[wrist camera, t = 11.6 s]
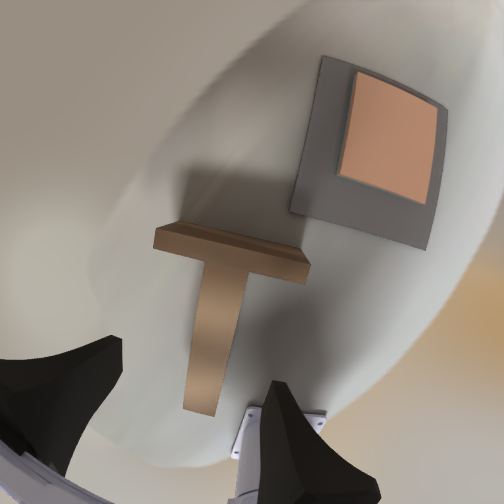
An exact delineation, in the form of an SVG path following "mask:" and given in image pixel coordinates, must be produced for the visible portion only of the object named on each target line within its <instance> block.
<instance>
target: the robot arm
mask: <svg viewBox="0 0 504 504" xmlns="http://www.w3.org/2000/svg"><path fill="white" fill-rule="evenodd" d="M122 372H123V363H122V339H121V338H118V337H116V336H113V335H110V336H107V337H104V338H102V339H100V340H97V341H95V342H92V343H90V344H87V345H85V346H82V347H79V348H77V349H74V350H70V351H68V352H64V353H61V354H58V355H54V356H49V357H44V358H36V359H27V360H4V359H0V488H2V489H3V490H4V491H5V492H6V493H7V494H8V495H9V496H11V497H12V498H13V499H14V500H15V501H17V502H18V503H19V504H114V503H112V502H110V501H107V500H105V499H103V498H101V497H99V496H97V495H95V494H93V493H91V492H89V491H87V490H85V489H83V488H81V487H80V486H78V485H76V484H74V483H73V482H71V481H69V480H67V479H66V478H65V474H66V471H67V468H68V465H69V463H70V460H71V458H72V455H73V452H74V450H75V448H76V446H77V444H78V442H79V439H80V437H81V435H82V433H83V431H84V430H85V428H86V426H87V424H88V422H89V420H90V419H91V417H92V416H93V414H94V413H95V412H96V410H97V409H98V408H99V406H100V405H101V404H102V402H103V401H104V400H105V399H106V397H107V396H108V395H109V393H110V392H111V390H112V389H113V388H114V386H115V385H116V383H117V381H118V379H119V377H120V375H121V373H122ZM326 421H327V418H326V416H325V415H315V414H304V413H302V411H301V409H300V408H299V406H298V404H297V402H296V401H295V399H294V397H293V395H292V393H291V391H290V389H289V387H288V385H287V384H286V382H280V381H274V380H273V381H272V383H271V386H270V389H269V391H268V394H267V397H266V399H265V402H264V404H263V407H262V408H260V407H254V406H250V407H248V408H247V409H246V412H245V415H244V418H243V421H242V424H241V427H240V430H239V432H238V435H237V438H236V441H235V444H234V446H233V449H232V452H231V458H234V459H239V464H238V473H237V482H236V490H235V498H233V499H228V502H227V504H377V503H378V502H379V501H380V499H381V494H380V490H379V487H378V484H377V481H376V479H375V478H373V477H371V476H369V475H367V474H366V473H364V472H362V471H360V470H359V469H357V468H356V467H354V466H353V465H351V464H350V463H348V462H347V461H346V460H344V459H343V458H342V457H341V456H339V455H338V454H337V453H336V452H335V451H334V450H333V449H331V448H330V447H329V446H328V445H327V444H326V443H325V442H324V440H323V439H322V438H321V437H320V436H319V435H318V434H319V432H320V431H321V429H322V427H323V426H324V424H325V422H326ZM319 422H320V423H319Z"/></svg>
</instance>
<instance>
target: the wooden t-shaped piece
mask: <svg viewBox="0 0 504 504" xmlns="http://www.w3.org/2000/svg"><path fill="white" fill-rule="evenodd" d="M153 248H154V249H158V250H162V251H166V252H170V253H174V254H177V255H182V256H186V257H190V258H194V259H198V260H202V261H205V267H204V272H203V277H202V283H201V288H200V294H199V300H198V306H197V312H196V318H195V324H194V330H193V337H192V343H191V350H190V357H189V364H188V371H187V379H186V386H185V394H184V402H183V409H185V410H189V411H193V412H196V413H200V414H204V415H208V416H212V417H215V413H216V408H217V404H218V400H219V396H220V392H221V387H222V383H223V379H224V375H225V371H226V366H227V362H228V358H229V354H230V350H231V345H232V341H233V337H234V333H235V329H236V324H237V320H238V316H239V312H240V307H241V303H242V299H243V295H244V291H245V286H246V282H247V278H248V274H249V272H252V273H256V274H261V275H265V276H269V277H274V278H278V279H282V280H287V281H291V282H296V283H300V284H305V283H306V280H307V276H308V273H309V269H310V266H311V264H310V262H309V261H308V259H307V258H306V256H305V255H304V253H303V252H302V250H301V249H298V248H294V247H290V246H286V245H282V244H277V243H273V242H269V241H265V240H260V239H256V238H252V237H248V236H243V235H239V234H235V233H230V232H226V231H222V230H217V229H213V228H208V227H204V226H200V225H195V224H191V223H186V222H182V221H177V222H174V223H171V224H168V225H165V226H162V227H158V228H156V231H155V238H154V245H153Z"/></svg>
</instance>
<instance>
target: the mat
mask: <svg viewBox="0 0 504 504" xmlns="http://www.w3.org/2000/svg"><path fill="white" fill-rule="evenodd" d="M357 72H360V73H363V74H365V75H368V76H370V77H373V78H376V79H378V80H380V81H383V82H385V83H388V84H390V85H392V86H394V87H397V88H399V89H401V90H403V91H405V92H407V93H409V94H411V95H413V96H415V97H417V98H419V99H421V100H423V101H425V102H427V103H429V104H431V105H432V106H434V107H436V108H437V123H436V136H435V145H434V154H433V161H432V168H431V175H430V181H429V187H428V192H427V197H426V202H425V204H417V203H414V202H412V201H409V200H406V199H404V198H401V197H399V196H396V195H393V194H390V193H388V192H385V191H382V190H379V189H376V188H373V187H371V186H368V185H365V184H362V183H359V182H355V181H352V180H349V179H346V178H343V177H339V176H336V175H335V174H336V169H337V165H338V160H339V155H340V150H341V145H342V140H343V135H344V130H345V124H346V119H347V113H348V107H349V101H350V95H351V89H352V82H353V78H354V76H355V75H356V74H357ZM447 121H448V109H446V108H444V107H443V106H441V105H439V104H437V103H436V102H434V101H432V100H430V99H428V98H427V97H425V96H423V95H421V94H419V93H417V92H415V91H413V90H411V89H409V88H407V87H405V86H403V85H401V84H399V83H396V82H394V81H392V80H390V79H387V78H385V77H383V76H380V75H378V74H375V73H373V72H370V71H368V70H365V69H363V68H360V67H357V66H354V65H351V64H348V63H345V62H342V61H339V60H336V59H333V58H330V57H326V56H323V58H322V63H321V68H320V73H319V78H318V83H317V88H316V93H315V98H314V102H313V107H312V112H311V117H310V121H309V126H308V131H307V135H306V140H305V144H304V149H303V153H302V158H301V162H300V166H299V171H298V175H297V179H296V184H295V188H294V192H293V196H292V201H291V205H290V209H289V212H292V213H296V214H300V215H304V216H308V217H312V218H316V219H320V220H323V221H327V222H331V223H335V224H338V225H342V226H346V227H349V228H353V229H356V230H360V231H363V232H367V233H370V234H373V235H377V236H380V237H383V238H387V239H390V240H393V241H397V242H400V243H403V244H406V245H409V246H412V247H416V248H419V249H422V250H425V251H426V247H427V244H428V240H429V236H430V232H431V228H432V224H433V220H434V215H435V211H436V206H437V201H438V196H439V190H440V185H441V178H442V172H443V165H444V157H445V147H446V136H447Z"/></svg>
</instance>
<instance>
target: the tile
mask: <svg viewBox="0 0 504 504" xmlns="http://www.w3.org/2000/svg"><path fill="white" fill-rule="evenodd" d="M436 123H437V108H436V107H434V106H432V105H431V104H429V103H427V102H425V101H423V100H421V99H419V98H417V97H415V96H413V95H411V94H409V93H407V92H405V91H403V90H401V89H399V88H397V87H394V86H392V85H390V84H388V83H385V82H383V81H380V80H378V79H376V78H373V77H370V76H368V75H365V74H363V73H360V72H357V74H356V75H355V76H354V78H353V82H352V89H351V95H350V101H349V107H348V113H347V119H346V124H345V130H344V135H343V140H342V145H341V150H340V155H339V160H338V165H337V169H336V174H335V175H336V176H339V177H343V178H346V179H349V180H352V181H355V182H359V183H362V184H365V185H368V186H371V187H373V188H376V189H379V190H382V191H385V192H388V193H390V194H393V195H396V196H399V197H401V198H404V199H406V200H409V201H412V202H414V203H417V204H425V202H426V197H427V192H428V187H429V181H430V175H431V168H432V161H433V154H434V145H435V136H436Z"/></svg>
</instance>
